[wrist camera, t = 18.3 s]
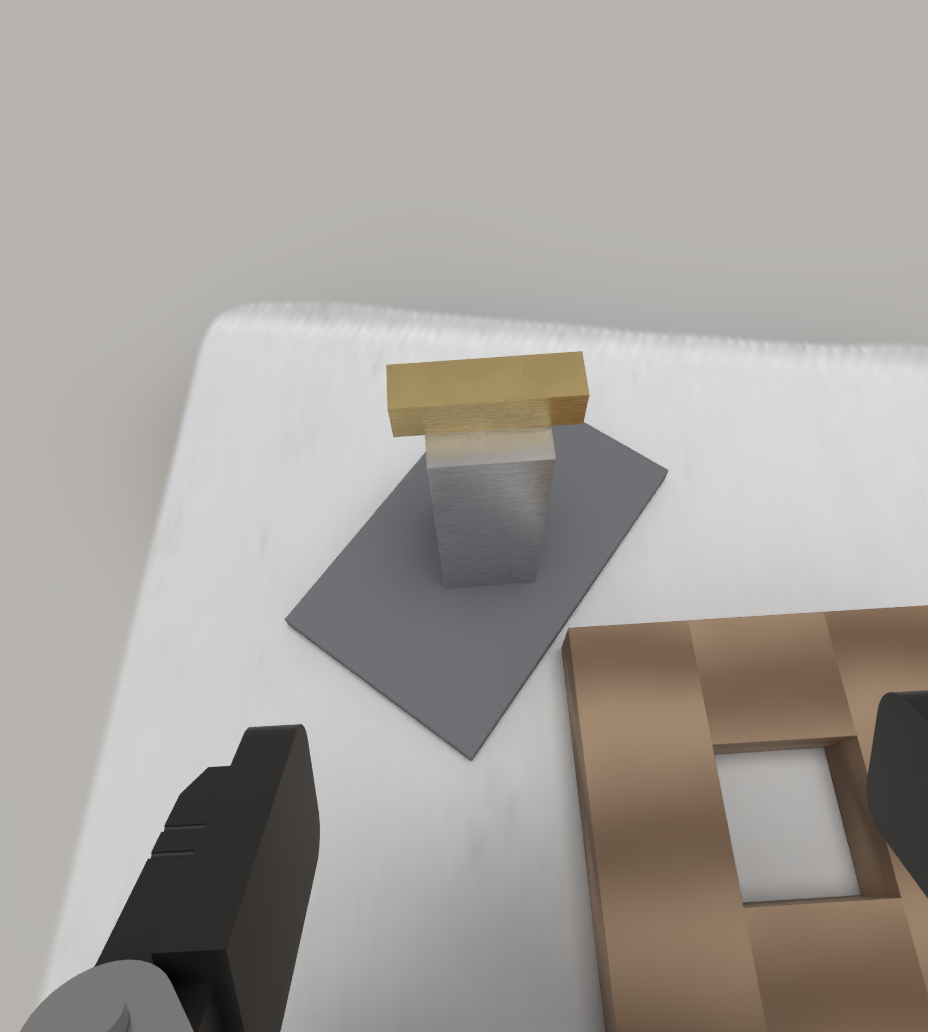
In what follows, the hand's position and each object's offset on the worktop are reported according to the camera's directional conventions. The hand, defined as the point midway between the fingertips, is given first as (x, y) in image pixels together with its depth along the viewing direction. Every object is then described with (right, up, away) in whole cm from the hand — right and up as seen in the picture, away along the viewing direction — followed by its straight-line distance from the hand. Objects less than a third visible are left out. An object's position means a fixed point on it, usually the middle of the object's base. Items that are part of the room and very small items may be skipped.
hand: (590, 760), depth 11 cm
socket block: (+10, -9, +19) cm, 23 cm away
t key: (-1, +2, +24) cm, 24 cm away
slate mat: (-1, +2, +24) cm, 24 cm away
